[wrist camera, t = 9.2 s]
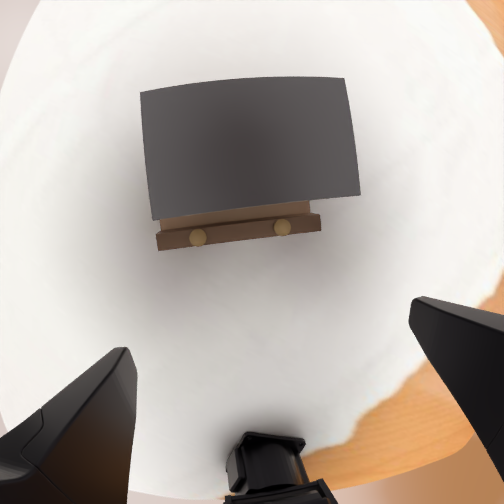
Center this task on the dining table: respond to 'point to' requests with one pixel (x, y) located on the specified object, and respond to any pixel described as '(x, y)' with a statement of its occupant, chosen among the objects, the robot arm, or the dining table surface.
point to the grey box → (247, 144)
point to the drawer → (237, 225)
